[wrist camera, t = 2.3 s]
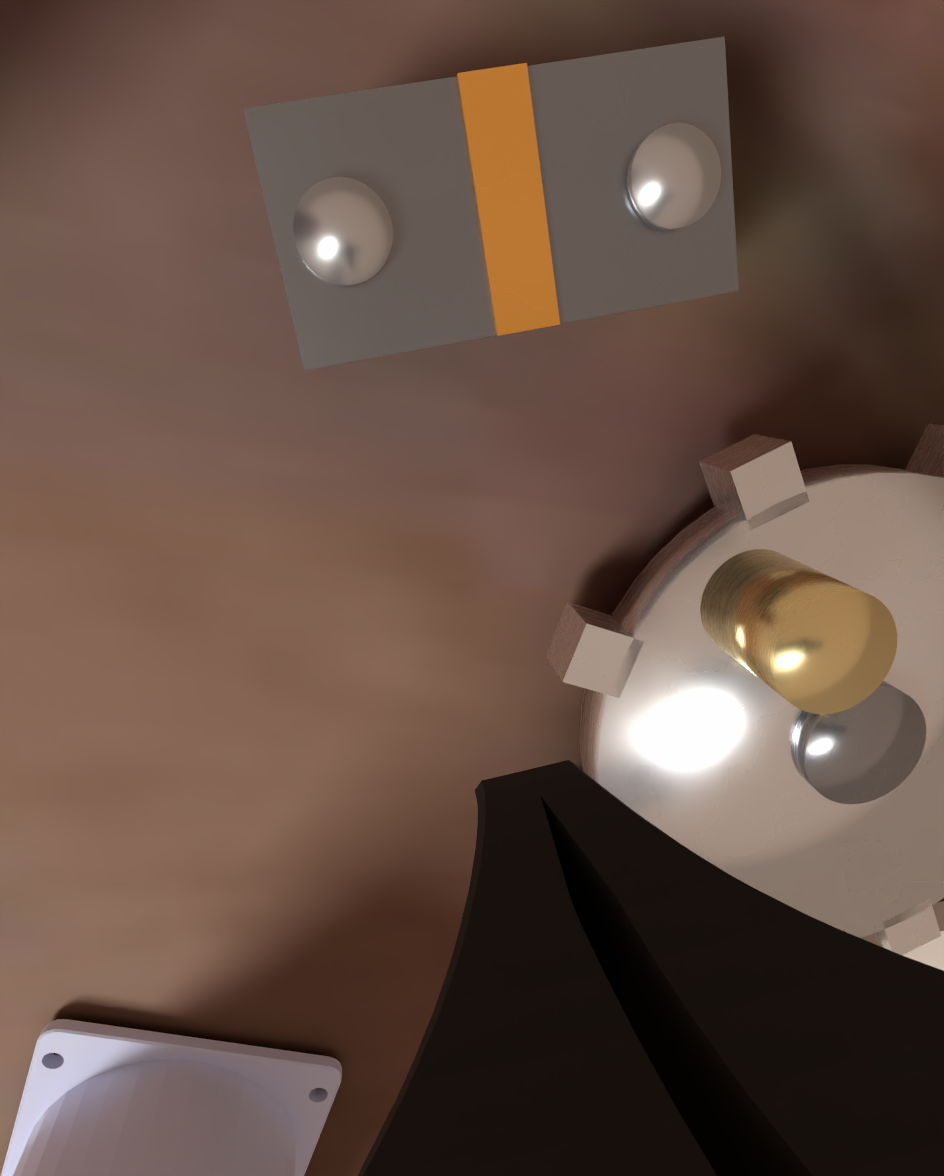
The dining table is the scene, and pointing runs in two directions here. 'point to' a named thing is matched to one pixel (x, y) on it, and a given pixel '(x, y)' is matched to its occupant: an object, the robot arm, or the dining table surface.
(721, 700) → the sprocket wheel
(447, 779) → the dining table surface
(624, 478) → the dining table surface
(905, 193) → the dining table surface
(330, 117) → the striped block with rivets
